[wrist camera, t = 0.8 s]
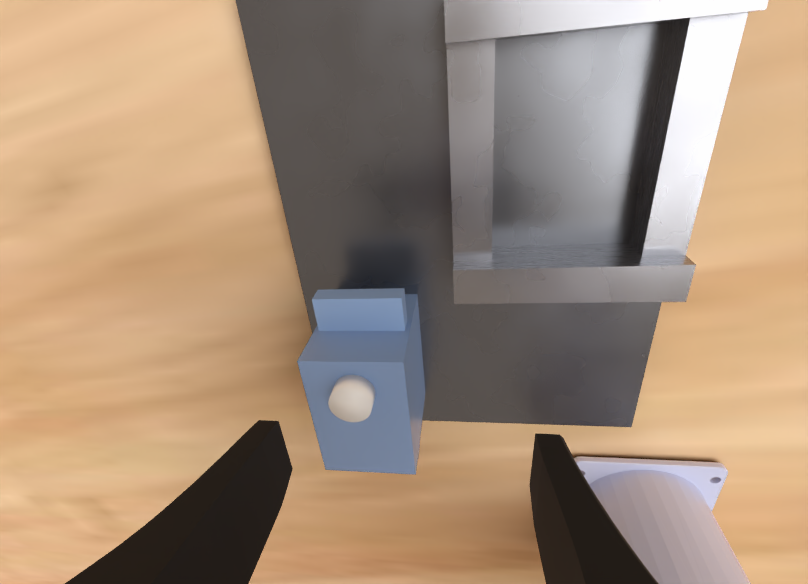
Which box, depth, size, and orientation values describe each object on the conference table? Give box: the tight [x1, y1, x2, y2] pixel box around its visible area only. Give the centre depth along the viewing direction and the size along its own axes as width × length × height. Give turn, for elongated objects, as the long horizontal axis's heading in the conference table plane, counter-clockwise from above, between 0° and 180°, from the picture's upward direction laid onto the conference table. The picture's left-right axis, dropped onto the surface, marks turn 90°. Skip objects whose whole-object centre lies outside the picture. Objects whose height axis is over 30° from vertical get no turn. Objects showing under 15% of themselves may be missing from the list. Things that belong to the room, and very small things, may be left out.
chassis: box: [236, 0, 768, 427], centre depth 17 cm, size 20×16×3 cm
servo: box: [297, 288, 425, 474], centre depth 18 cm, size 9×4×6 cm, turn 5°
